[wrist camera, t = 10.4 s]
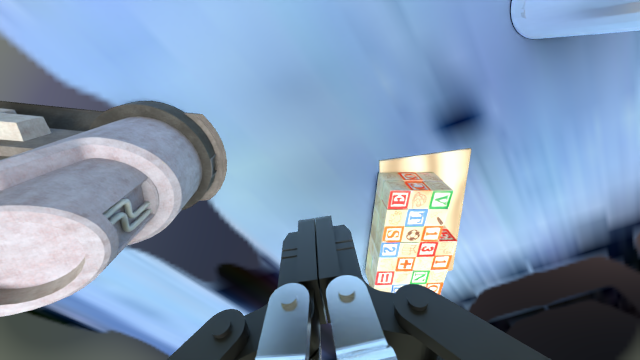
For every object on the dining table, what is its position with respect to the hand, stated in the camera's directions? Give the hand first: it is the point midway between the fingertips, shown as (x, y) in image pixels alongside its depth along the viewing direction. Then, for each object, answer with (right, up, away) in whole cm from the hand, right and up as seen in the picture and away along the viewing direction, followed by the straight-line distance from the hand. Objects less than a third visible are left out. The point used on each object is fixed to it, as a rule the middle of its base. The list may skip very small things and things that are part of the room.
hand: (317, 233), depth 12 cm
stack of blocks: (+9, -7, +30) cm, 32 cm away
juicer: (-29, +6, +25) cm, 39 cm away
